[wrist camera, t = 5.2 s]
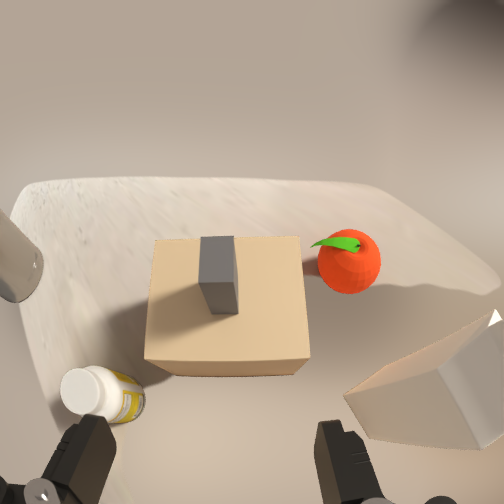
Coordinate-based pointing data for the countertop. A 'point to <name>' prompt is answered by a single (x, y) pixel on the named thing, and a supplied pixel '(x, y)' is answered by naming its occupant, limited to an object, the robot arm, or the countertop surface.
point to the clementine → (348, 261)
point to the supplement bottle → (102, 394)
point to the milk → (439, 392)
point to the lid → (227, 301)
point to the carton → (231, 368)
